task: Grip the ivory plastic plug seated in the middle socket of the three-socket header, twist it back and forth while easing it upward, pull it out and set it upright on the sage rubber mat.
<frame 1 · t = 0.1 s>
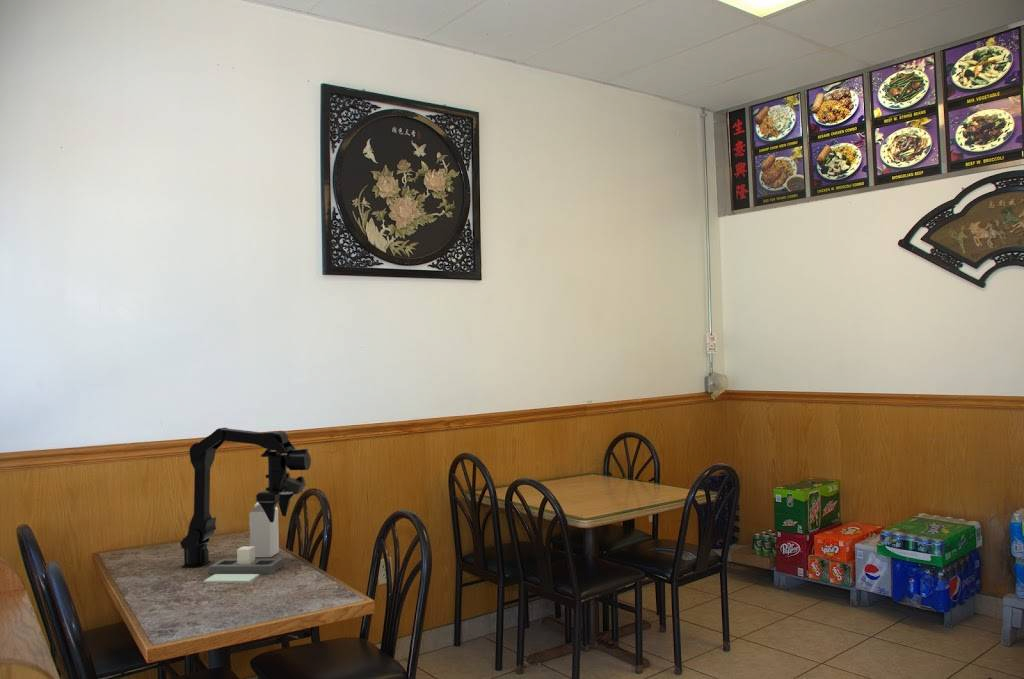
hand: (278, 519, 248), 15 cm above the table, fingers open, 9 cm apart
mat: (231, 579, 232), on the table
header: (246, 570, 242), on the table
milk carton: (264, 555, 261), on the table
plug: (246, 559, 243), in the header
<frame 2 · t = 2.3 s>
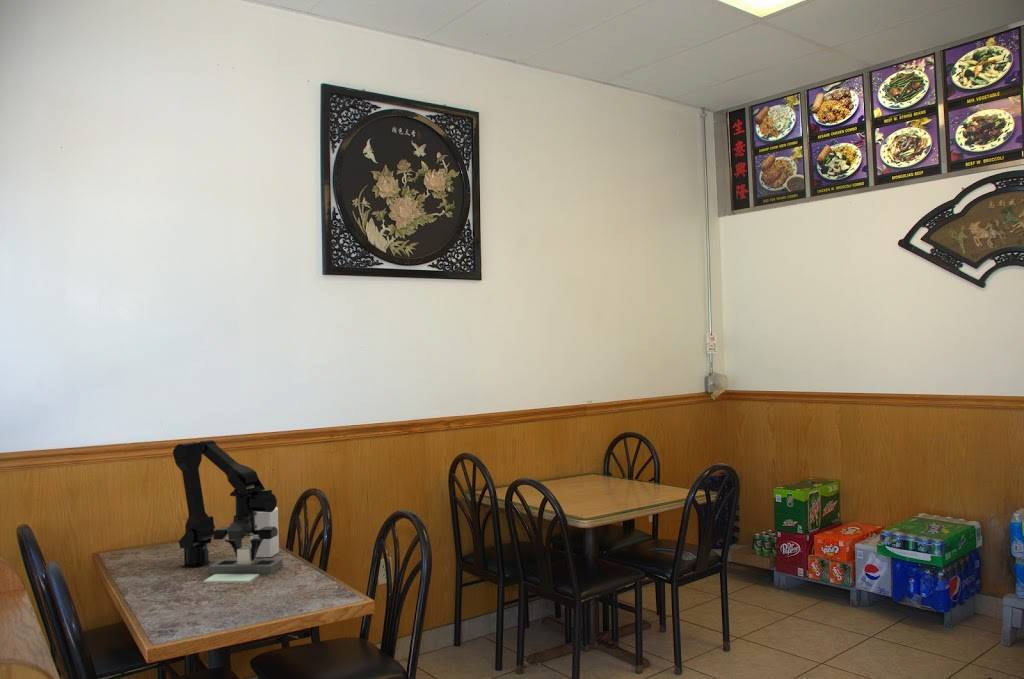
hand: (246, 560, 243), 3 cm above the table, fingers closed on plug, 4 cm apart
plug: (246, 559, 243), in the header, touching gripper
everything else where it was.
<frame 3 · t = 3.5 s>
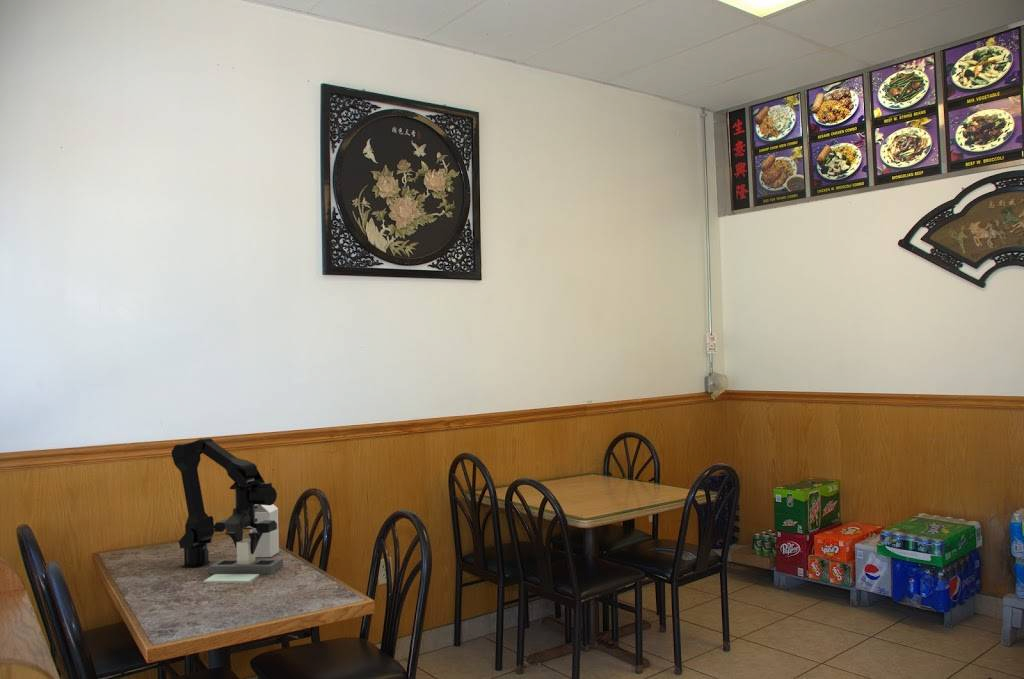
hand: (246, 553, 243), 5 cm above the table, fingers closed on plug, 4 cm apart
plug: (246, 552, 243), point 6 cm above the table, touching gripper
everything else where it was.
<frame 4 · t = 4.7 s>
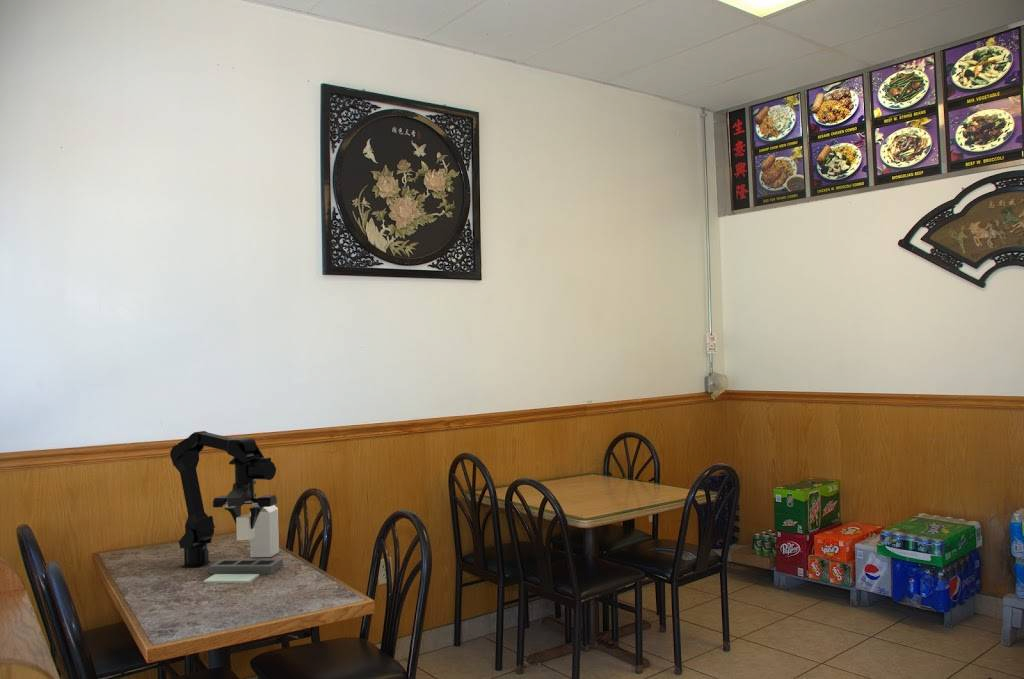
hand: (245, 528, 243), 13 cm above the table, fingers closed on plug, 4 cm apart
plug: (245, 527, 243), point 13 cm above the table, touching gripper
everything else where it was.
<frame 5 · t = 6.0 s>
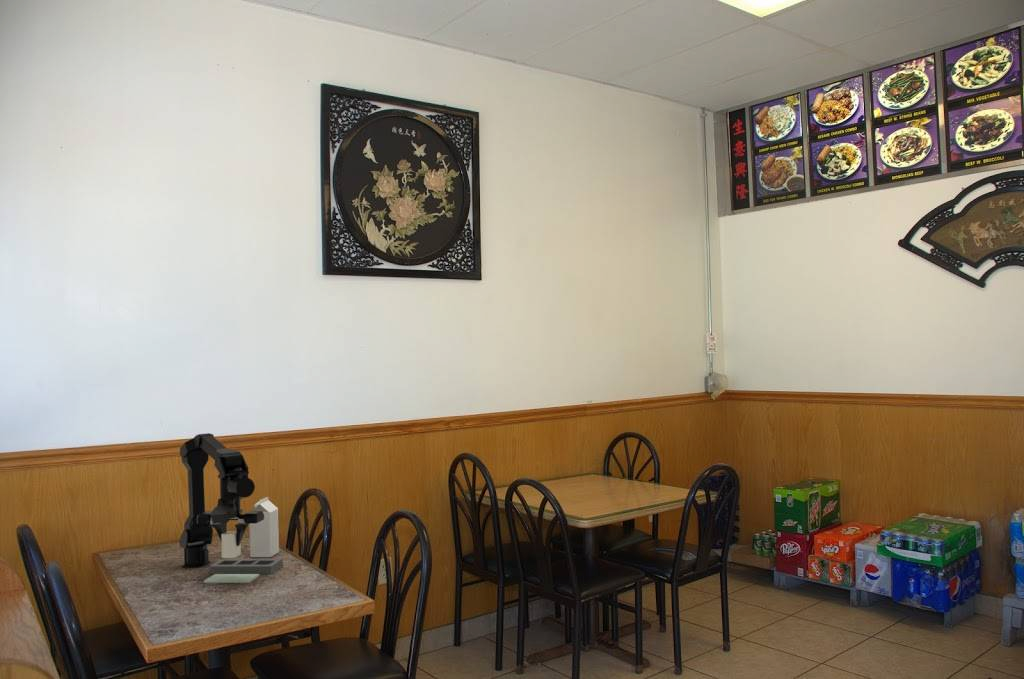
hand: (231, 545, 233), 10 cm above the table, fingers closed on plug, 4 cm apart
plug: (231, 544, 233), point 10 cm above the table, touching gripper
everything else where it was.
when the fingers open (5 cm above the table, at t = 7.1 s): plug drops 1 cm, resting on mat.
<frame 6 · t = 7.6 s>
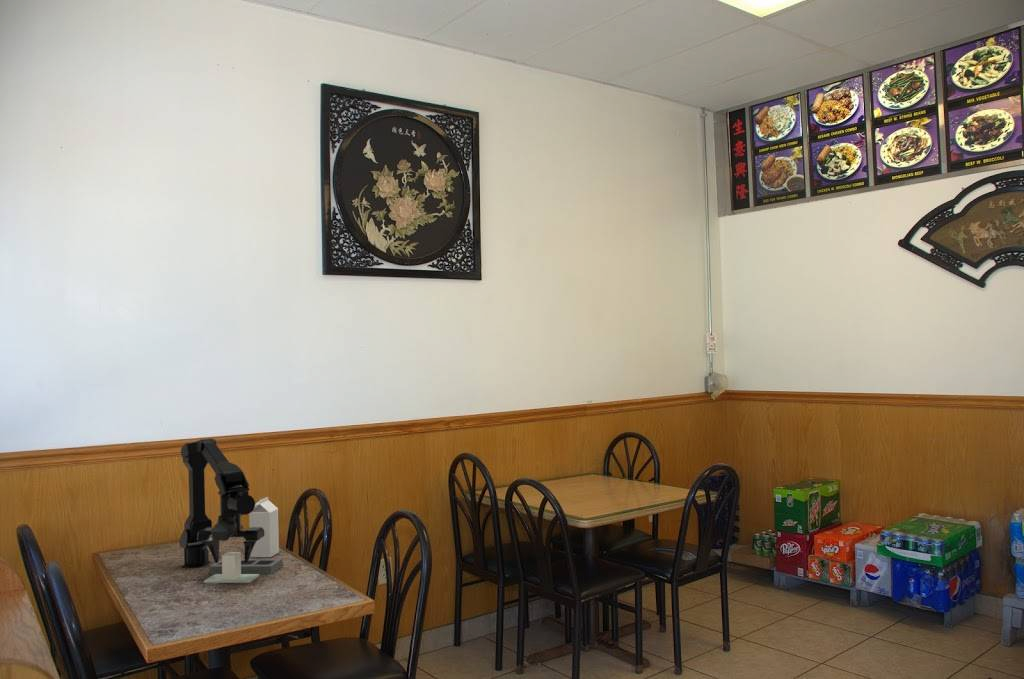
hand: (231, 562, 233), 5 cm above the table, fingers open, 9 cm apart
plug: (231, 565, 233), on the mat, point 4 cm above the table
everything else where it was.
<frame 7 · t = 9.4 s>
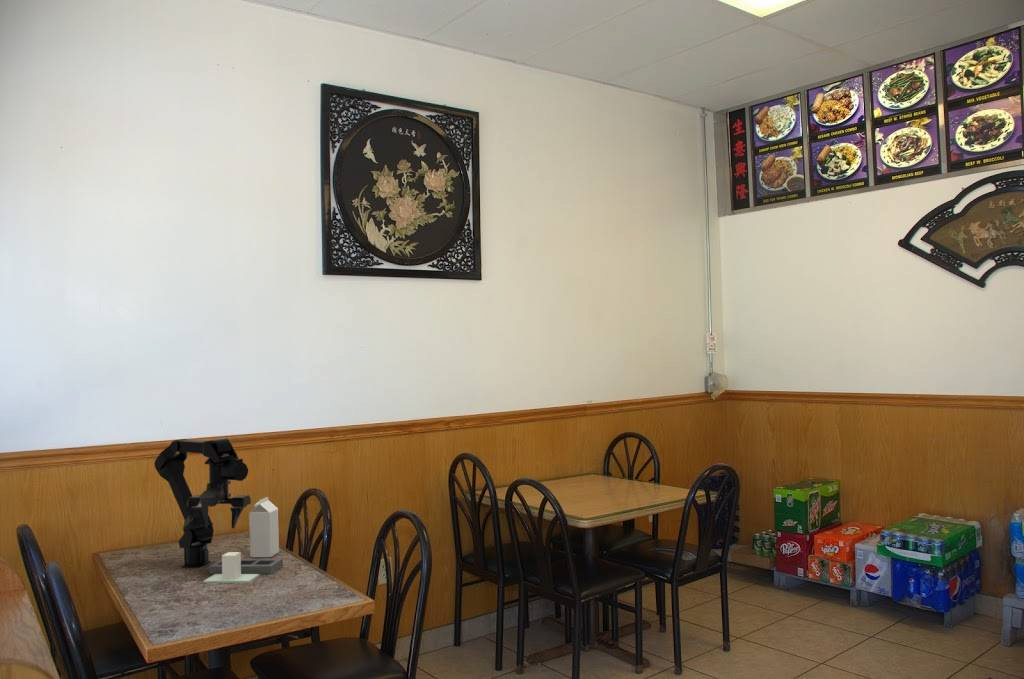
hand: (219, 528, 245), 13 cm above the table, fingers open, 9 cm apart
nothing on the table moved.
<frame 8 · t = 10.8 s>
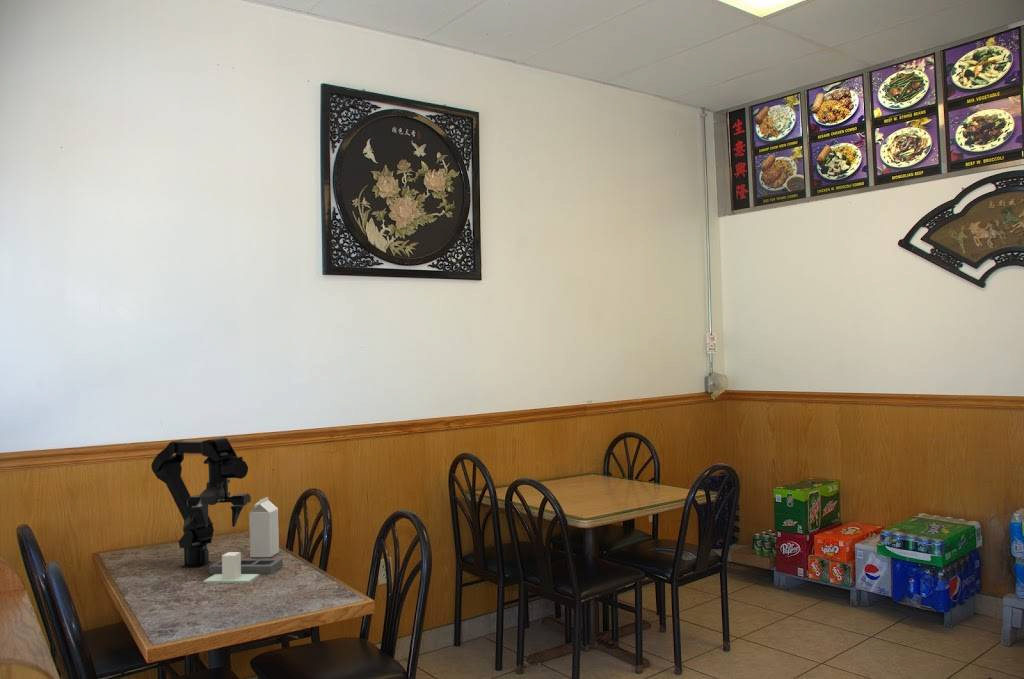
hand: (219, 527, 246), 13 cm above the table, fingers open, 9 cm apart
nothing on the table moved.
at the end: plug inside the target area (0.0 cm from its centre), point 4.1 cm above the table; plug tilted 0°; the gripper is holding nothing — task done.
